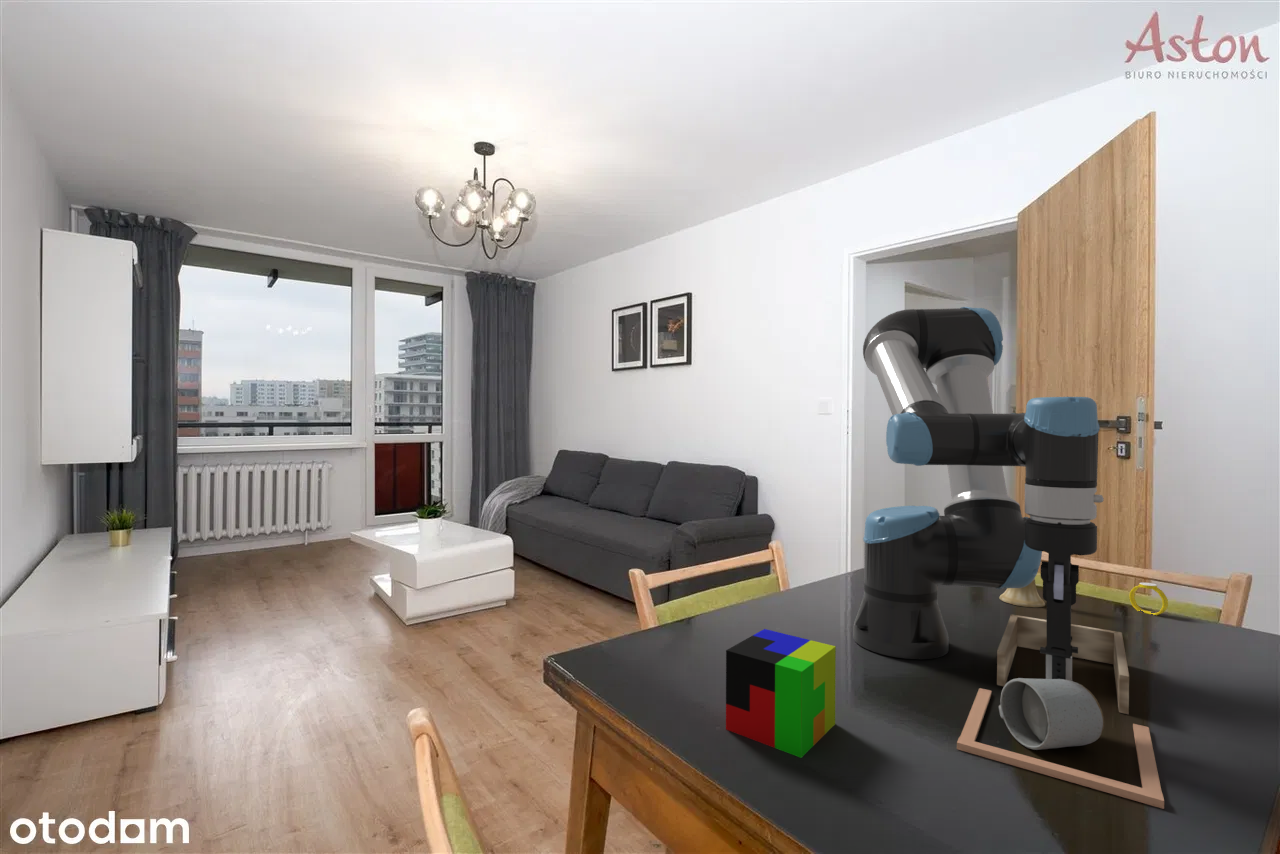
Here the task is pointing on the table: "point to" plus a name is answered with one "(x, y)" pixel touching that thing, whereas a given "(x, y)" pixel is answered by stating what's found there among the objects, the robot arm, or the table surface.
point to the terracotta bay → (1145, 755)
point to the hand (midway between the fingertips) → (1058, 704)
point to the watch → (1154, 587)
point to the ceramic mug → (1050, 713)
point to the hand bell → (1023, 596)
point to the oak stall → (1087, 639)
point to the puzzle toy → (781, 690)
